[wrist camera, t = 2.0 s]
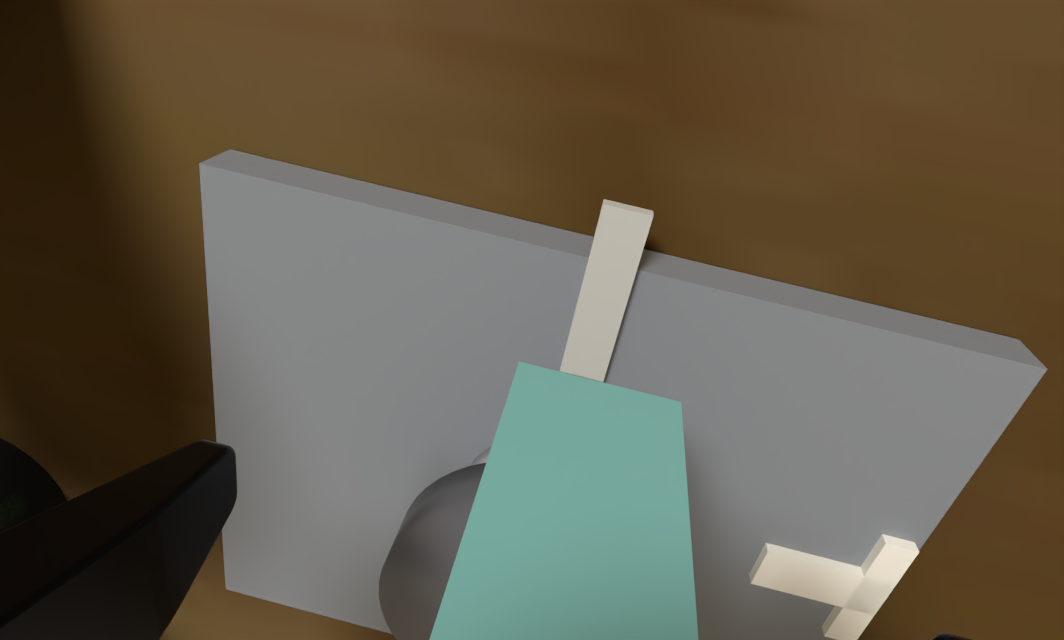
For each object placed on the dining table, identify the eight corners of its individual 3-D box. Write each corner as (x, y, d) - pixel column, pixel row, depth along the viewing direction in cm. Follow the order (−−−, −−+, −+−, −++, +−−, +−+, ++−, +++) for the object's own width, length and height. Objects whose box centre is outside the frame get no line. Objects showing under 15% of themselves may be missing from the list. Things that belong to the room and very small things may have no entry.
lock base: (1053, 287, 14) (1147, 363, 11) (778, 701, 21) (796, 804, 19) (228, 91, 14) (136, 120, 12) (245, 559, 22) (191, 639, 19)
